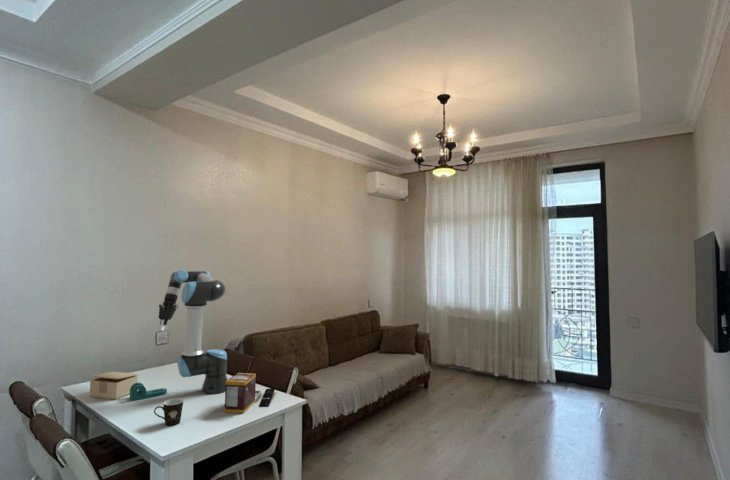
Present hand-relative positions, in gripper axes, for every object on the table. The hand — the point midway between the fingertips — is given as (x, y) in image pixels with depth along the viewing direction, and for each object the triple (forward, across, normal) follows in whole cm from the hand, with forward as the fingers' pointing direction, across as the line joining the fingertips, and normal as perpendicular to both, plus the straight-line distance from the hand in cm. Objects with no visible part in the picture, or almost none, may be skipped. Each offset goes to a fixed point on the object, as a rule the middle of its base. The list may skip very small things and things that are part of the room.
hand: (161, 330), depth 243 cm
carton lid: (+30, +10, +13) cm, 34 cm away
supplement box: (+43, -68, +10) cm, 81 cm away
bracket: (+39, -11, +7) cm, 41 cm away
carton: (+39, +11, +9) cm, 42 cm away
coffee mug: (+52, -46, +34) cm, 77 cm away
